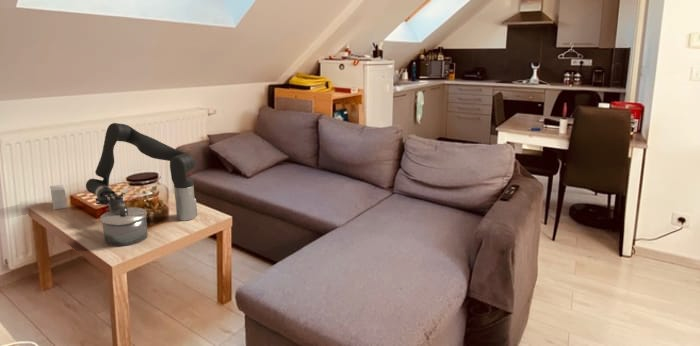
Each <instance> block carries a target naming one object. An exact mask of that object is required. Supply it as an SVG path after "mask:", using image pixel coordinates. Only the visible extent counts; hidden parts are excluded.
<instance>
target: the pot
mask: <svg viewBox="0 0 700 346" xmlns="http://www.w3.org/2000/svg"><path fill="white" fill-rule="evenodd" d="M101 224H102V232H103V238H104V243H105V244H106V245H107V246H111V247H127V246H132V245H136V244H139V243H141V242H143V241H145V240H146V239H147V238H148V237H149V234H148V232H149V231H148V225H147V224H148V223H147V216H146V217H145V218H144V219H142V220H140V221H138V222H134V223H131V224H125V225H106V224H103V223H102V222H101Z"/></svg>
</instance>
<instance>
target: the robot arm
mask: <svg viewBox="0 0 700 346" xmlns="http://www.w3.org/2000/svg"><path fill="white" fill-rule="evenodd" d="M118 142H122V143H127V144H131V145H133V146H135V147H136V148H137V149H138V151H139V152H140V153H141V154H142V155H146V156H147V157H149V158H151V159H155V160H161V161H167V162H169V170H170V176H171V177H170V178H171V180H172V183H173V190H174V198H175V199H174V200H175V202H174V203H175V210H176V219H177V220H178V221H182V222H183V221H185V222H186V221H192V220H193V219H196V217H197V216H198V207H197V204H198V203H197V198H195V188H194V180H193V179H192V178H189V177H187V173H188V172H190V171H192V170H194V169H195V167H196V166H197V164H196V163H197V162H196V159H195V158H194V156H192V155H191V154H190V153H188V152H185V151H182V150H179V149H177V148H173V147H172V146H170V145H167V144H165V143H163V142H161V141H159V140H157V139H155V138H153V137H150V136H148V135H146V134H144V133H141V132H139V131H138V130H136V129H135V128H133V127H132V126H129V125H128V124H126V123H125V124H124V123H117V122H112V123H111V124H109V125H108V127H107V129H106V132H105V136H104V141H103V146H102V152H101V156H100V159H99V161H98V164H97V166H96V169H95V175H96V176H97V177H99V178H102V179H98V178H89V179H88V180H87V181H86V184H85V188H86V190H87V192H89V193H90V194H93V195H95V196H96V198H95V204H96V205H104V206H108V202H110V201H115V200H120V199H122V200H123V194H122V193H120V194H117V193H116V192H115V191H114V190H113V189H112V188H111V187H110V186H109V185H110V176H111V173H112V170H113V169H114V165H115V155H114V149H115V145H116V143H118Z"/></svg>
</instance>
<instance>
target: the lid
mask: <svg viewBox="0 0 700 346" xmlns="http://www.w3.org/2000/svg"><path fill="white" fill-rule="evenodd" d="M107 206H108V211H107V212H104V213H102V215H100V217H99V219H100V222H101V224H102V223H103V224H106V225H125V224H131V223H134V222H138V221H140V220H142V219H144V218H145V217H146V218H147V210H146V209H144V208H141V207H137V206H136V207H135V206H134V207H132V206H131V207H128V206H127V207H126V203H125V202H124V201H123V200H122V199H120V200H115V201H110V202H108V204H107Z"/></svg>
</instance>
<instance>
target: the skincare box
mask: <svg viewBox="0 0 700 346" xmlns="http://www.w3.org/2000/svg"><path fill="white" fill-rule="evenodd" d="M49 190H50V193H51V202H52V209H53V210H61V209H66V208H68V204H67V196H66V190H65V186H64V184H58V185H57V184H56V185H50V186H49Z"/></svg>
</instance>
